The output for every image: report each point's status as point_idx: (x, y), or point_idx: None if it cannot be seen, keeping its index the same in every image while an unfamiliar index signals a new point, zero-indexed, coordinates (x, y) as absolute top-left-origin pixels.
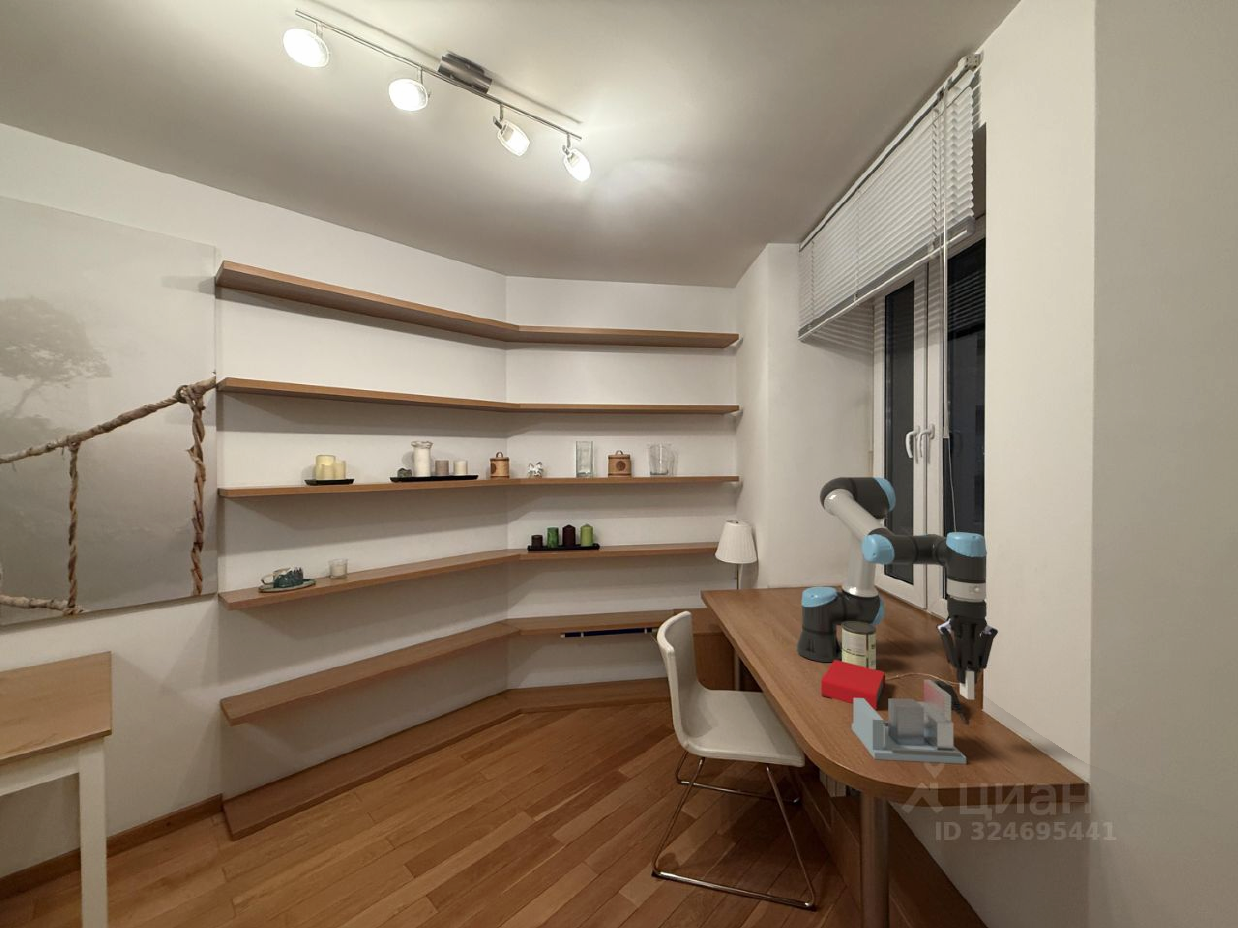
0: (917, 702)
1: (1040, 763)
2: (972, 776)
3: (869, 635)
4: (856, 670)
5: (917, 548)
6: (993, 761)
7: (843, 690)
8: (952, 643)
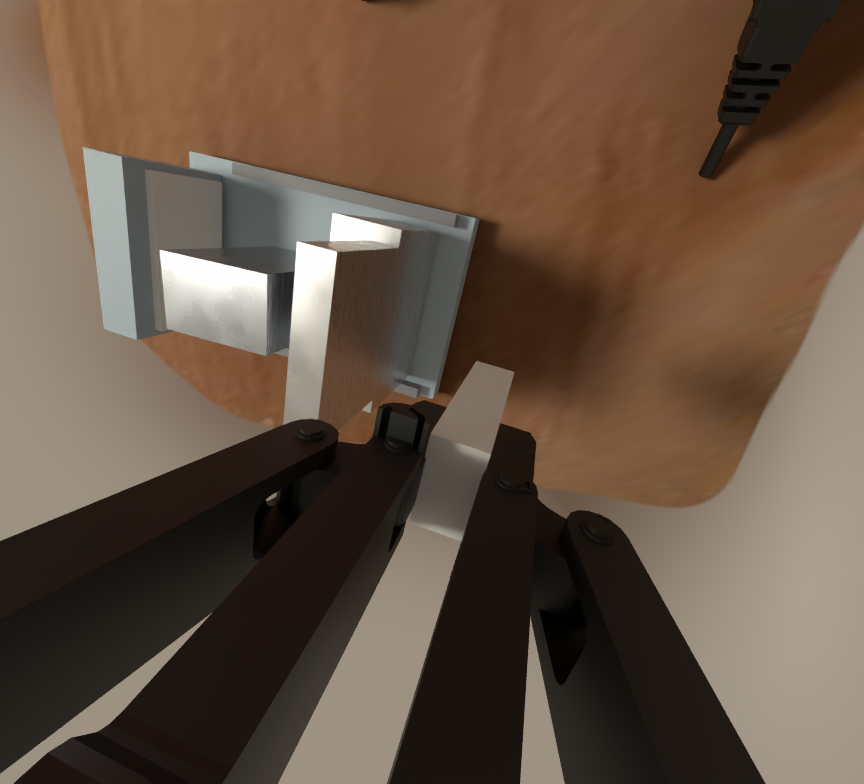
0: (266, 310)
1: (689, 447)
2: None
3: None
4: None
5: None
6: (535, 402)
7: None
8: (18, 737)
